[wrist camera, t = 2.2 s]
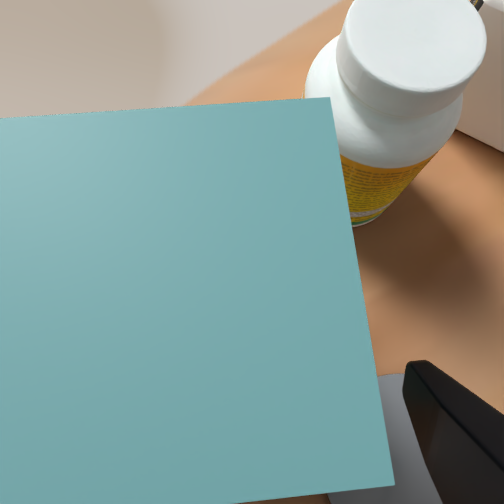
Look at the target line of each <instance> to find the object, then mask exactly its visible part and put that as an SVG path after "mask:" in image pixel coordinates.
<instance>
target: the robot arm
mask: <svg viewBox="0 0 504 504" xmlns="http://www.w3.org/2000/svg"><path fill="white" fill-rule="evenodd" d="M402 394H403V399H404V402H405V405H406V408H407V411H408V414H409V417H410V420H411V423H412V426H413V429H414V432H415V435H416V438H417V441H418V444H419V447H420V450H421V453H422V456H423V459H424V462H425V465H426V467H427V469H428V472H429V474H430V477H431V479H432V481H433V483H434V485H435V488H436V490H437V492H438V494H439V496H440V499H441V501H442V503H443V504H504V415H503V414H502V413H500V412H499V411H498V410H496V409H495V408H493V407H492V406H491V405H489V404H488V403H486V402H485V401H484V400H482V399H481V398H479V397H478V396H477V395H475V394H474V393H472V392H471V391H470V390H468V389H467V388H465V387H464V386H463V385H461V384H460V383H458V382H457V381H456V380H454V379H453V378H451V377H450V376H449V375H447V374H446V373H444V372H443V371H442V370H440V369H439V368H437V367H436V366H435V365H433V364H432V363H430V362H429V361H427V360H418V361H410V362H408V363H407V365H406V369H405V375H404V380H403V386H402Z"/></svg>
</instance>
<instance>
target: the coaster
mask: <svg viewBox="0 0 504 504" xmlns="http://www.w3.org/2000/svg"><path fill="white" fill-rule="evenodd" d="M404 375H405V374H387V375H382V376H378V377H377V380H378V386H379V392H380V398H381V403H382V409H383V415H384V421H385V427H386V433H387V439H388V445H389V451H390V457H391V463H392V469H393V475H394V481H395V485H392V486H384V487H375V488H366V489H357V490H348V491H340V492H331V493H327V496H328V498H329V501H330V503H331V504H443V503H442V501H441V499H440V496H439V494H438V492H437V490H436V488H435V485H434V483H433V481H432V479H431V477H430V474H429V472H428V469H427V467H426V465H425V462H424V459H423V456H422V453H421V450H420V447H419V444H418V441H417V438H416V435H415V432H414V429H413V426H412V423H411V420H410V417H409V414H408V411H407V408H406V405H405V402H404V399H403V394H402V386H403V380H404Z"/></svg>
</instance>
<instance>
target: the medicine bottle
mask: <svg viewBox="0 0 504 504" xmlns="http://www.w3.org/2000/svg"><path fill="white" fill-rule="evenodd" d="M470 3H471V4H472V5H473V6H474V7H475V9H476V10H477V12H478V13H479V15H480V17H481V18H482V21H483V23H484V26H485V30H486V35H487V46H486V53H485V56H484V59H483V61H482V63H481V65H480V67H479V69H478V70H477V72H476V73H475V74H474V76H473V77H472V79H471V80H470V81H469V83H468V84H467V86H466V87H465V89H464V90H463V92H462V93H463V103H462V111H461V115H460V119H459V121H458V124H457V126H456V128H455V129H457V130H459V131H461V132H463V133H465V134H467V135H469V136H471V137H473V138H475V139H477V140H479V141H481V142H483V143H485V144H487V145H490V146H492V147H494V148H496V149H498V150H500V151H502V152H504V0H471V1H470Z"/></svg>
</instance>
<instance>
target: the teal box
mask: <svg viewBox="0 0 504 504" xmlns="http://www.w3.org/2000/svg"><path fill="white" fill-rule="evenodd" d="M392 485H395V481H394V475H393V469H392V463H391V457H390V451H389V445H388V439H387V433H386V427H385V421H384V415H383V409H382V403H381V398H380V392H379V386H378V380H377V374H376V368H375V362H374V356H373V350H372V344H371V338H370V332H369V326H368V320H367V314H366V308H365V302H364V296H363V290H362V284H361V278H360V272H359V266H358V260H357V255H356V249H355V243H354V237H353V231H352V225H351V219H350V213H349V207H348V201H347V195H346V189H345V183H344V177H343V171H342V165H341V159H340V153H339V147H338V141H337V135H336V129H335V123H334V117H333V111H332V106H331V100H330V97H320V98H305V99H289V100H274V101H258V102H243V103H228V104H212V105H197V106H182V107H166V108H151V109H136V110H121V111H105V112H91V113H74V114H61V115H60V114H59V115H44V116H28V117H14V118H0V504H234V503H243V502H252V501H261V500H269V499H278V498H287V497H296V496H305V495H313V494H322V493H331V492H340V491H348V490H357V489H366V488H375V487H384V486H392Z"/></svg>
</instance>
